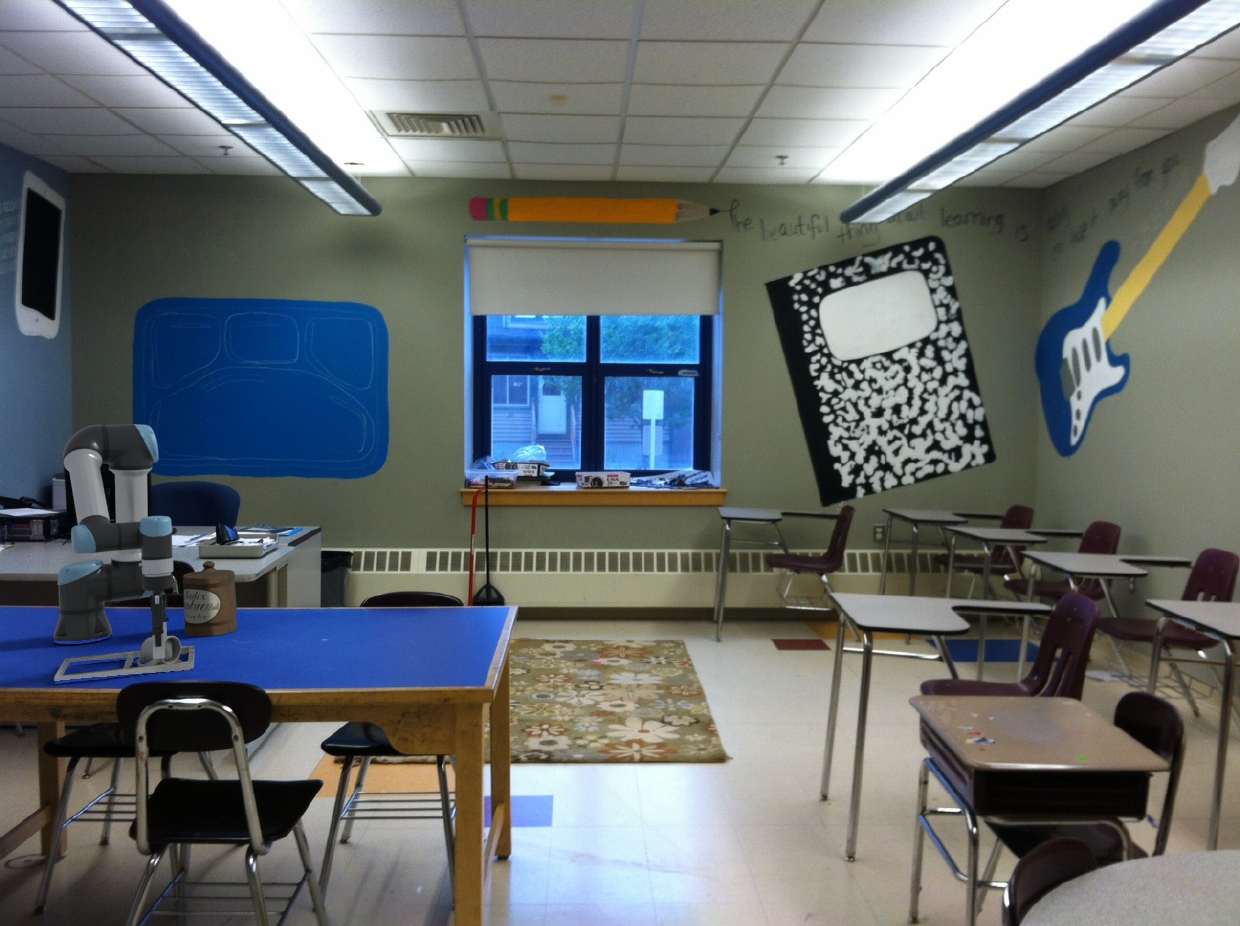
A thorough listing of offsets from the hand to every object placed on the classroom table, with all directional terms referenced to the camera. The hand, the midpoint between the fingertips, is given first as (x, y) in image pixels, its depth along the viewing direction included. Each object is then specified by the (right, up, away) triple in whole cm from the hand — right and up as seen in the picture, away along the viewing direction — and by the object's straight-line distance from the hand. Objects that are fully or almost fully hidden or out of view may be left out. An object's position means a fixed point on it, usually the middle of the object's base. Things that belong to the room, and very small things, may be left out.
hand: (160, 652), depth 239 cm
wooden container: (-3, -2, +37) cm, 37 cm away
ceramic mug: (0, -3, -1) cm, 3 cm away
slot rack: (-7, -3, -3) cm, 8 cm away
